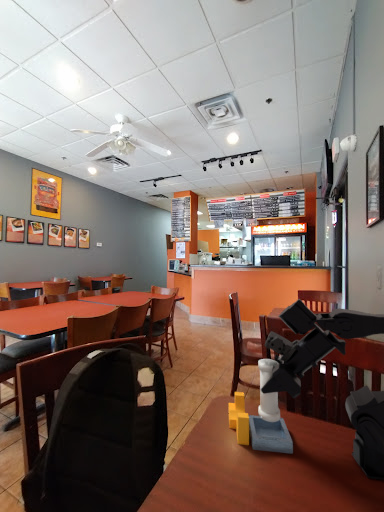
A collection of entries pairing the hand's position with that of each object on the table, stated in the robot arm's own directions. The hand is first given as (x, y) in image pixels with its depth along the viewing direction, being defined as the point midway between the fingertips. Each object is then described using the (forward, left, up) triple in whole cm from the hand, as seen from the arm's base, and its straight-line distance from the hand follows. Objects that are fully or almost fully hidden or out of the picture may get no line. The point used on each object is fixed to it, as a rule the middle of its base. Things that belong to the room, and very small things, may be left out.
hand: (263, 387), depth 61 cm
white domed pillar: (-1, 0, -7) cm, 7 cm away
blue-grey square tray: (-1, 0, -12) cm, 12 cm away
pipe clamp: (+6, -2, -12) cm, 14 cm away
